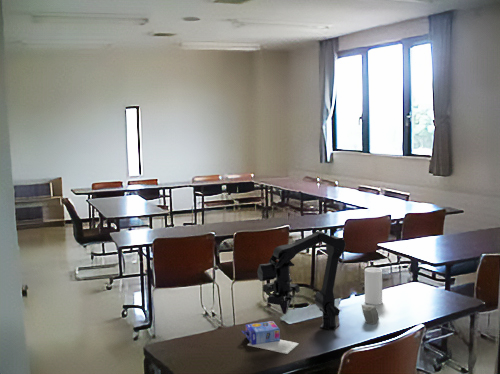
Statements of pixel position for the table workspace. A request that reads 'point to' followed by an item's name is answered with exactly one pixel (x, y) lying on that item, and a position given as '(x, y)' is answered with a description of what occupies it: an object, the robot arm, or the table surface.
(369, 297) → the cup
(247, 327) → the ink cartridge box
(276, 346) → the mat
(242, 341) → the table surface
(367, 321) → the mineral specimen
